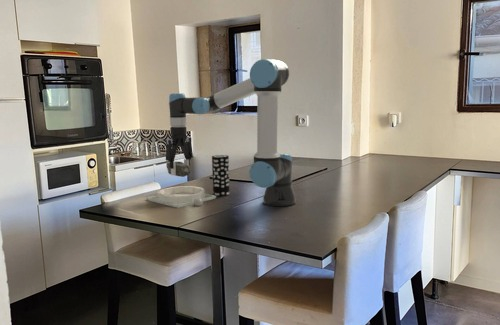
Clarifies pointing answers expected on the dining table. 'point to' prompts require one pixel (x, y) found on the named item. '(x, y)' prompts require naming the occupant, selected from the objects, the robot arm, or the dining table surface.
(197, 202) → the pebble
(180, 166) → the stone
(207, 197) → the tray
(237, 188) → the dining table surface
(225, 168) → the spotted tube
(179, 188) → the bowl
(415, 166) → the dining table surface
